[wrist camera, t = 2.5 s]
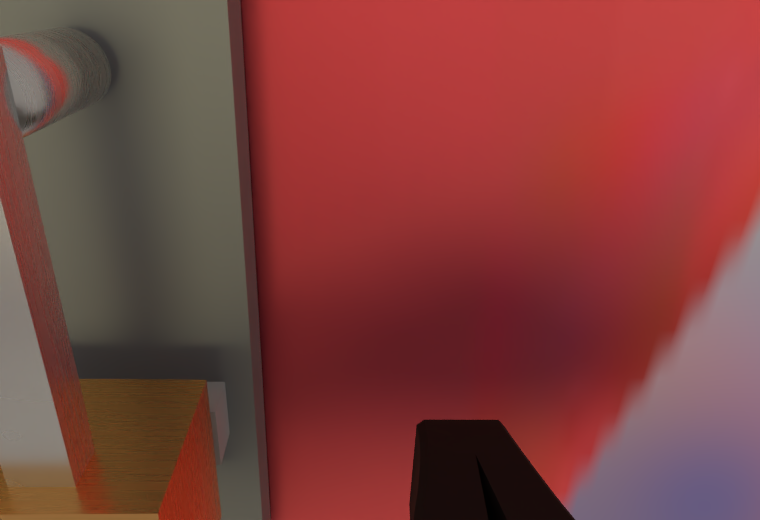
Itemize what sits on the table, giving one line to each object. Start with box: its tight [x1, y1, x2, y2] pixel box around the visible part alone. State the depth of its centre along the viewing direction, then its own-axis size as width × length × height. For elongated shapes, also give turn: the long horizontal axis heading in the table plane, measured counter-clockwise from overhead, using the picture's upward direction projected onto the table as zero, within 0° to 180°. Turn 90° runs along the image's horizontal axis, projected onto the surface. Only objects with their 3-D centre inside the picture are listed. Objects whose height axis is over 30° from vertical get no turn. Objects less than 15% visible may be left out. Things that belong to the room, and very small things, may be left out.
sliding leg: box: [0, 27, 222, 520], centre depth 8 cm, size 3×8×3 cm, turn 178°
